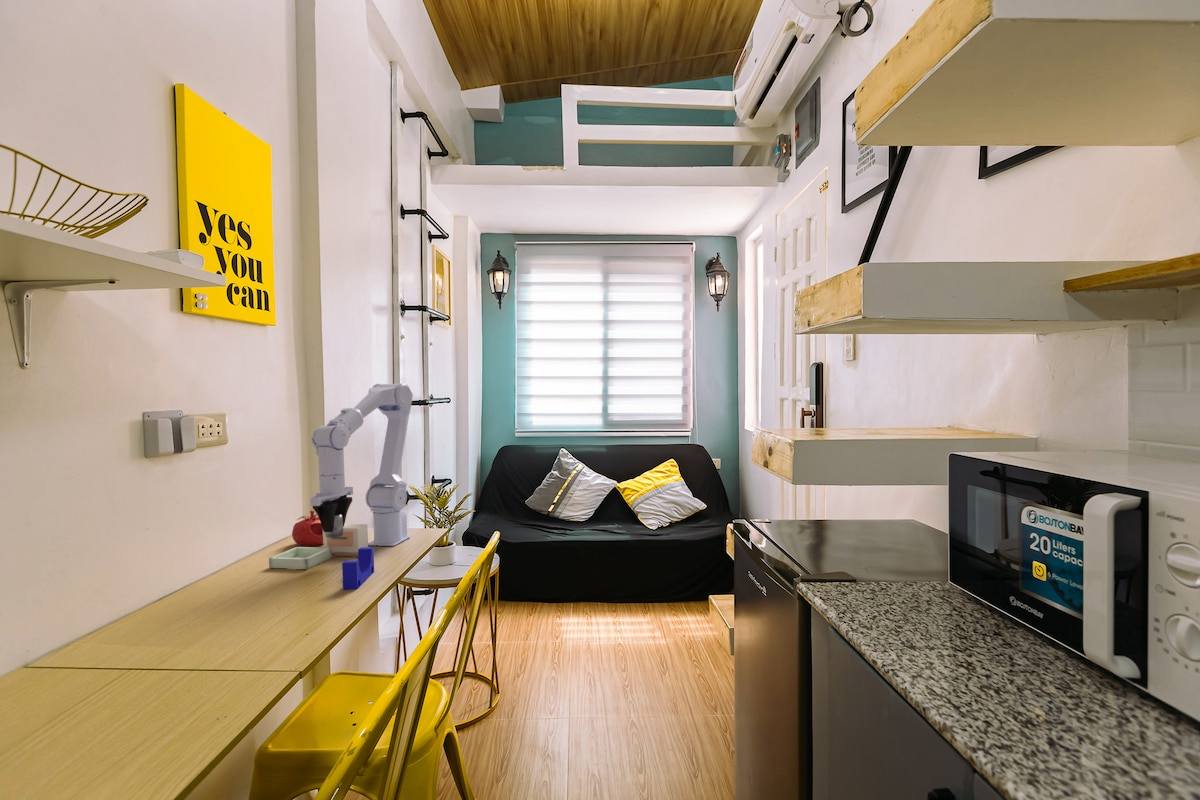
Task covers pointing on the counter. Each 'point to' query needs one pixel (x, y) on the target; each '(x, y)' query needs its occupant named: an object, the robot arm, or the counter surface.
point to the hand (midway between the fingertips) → (333, 529)
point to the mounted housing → (348, 540)
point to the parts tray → (300, 558)
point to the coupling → (336, 526)
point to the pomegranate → (308, 531)
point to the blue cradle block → (358, 569)
